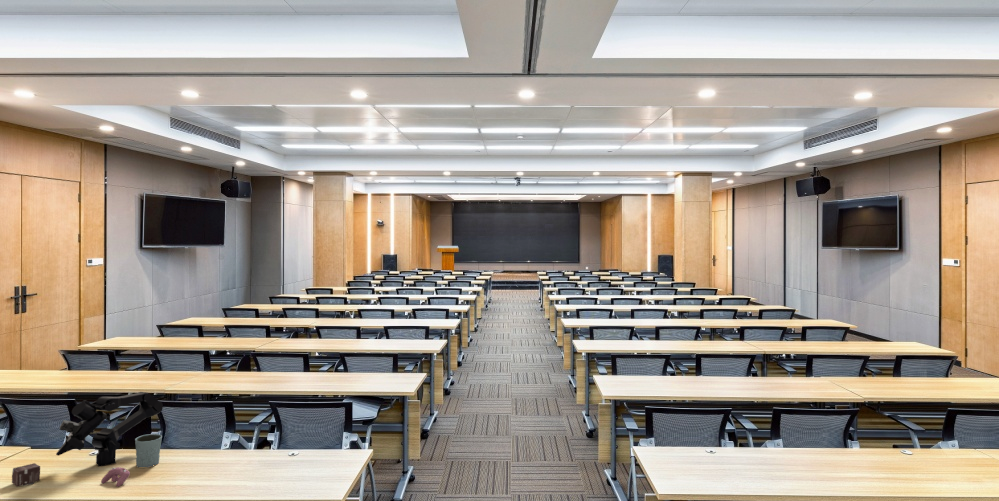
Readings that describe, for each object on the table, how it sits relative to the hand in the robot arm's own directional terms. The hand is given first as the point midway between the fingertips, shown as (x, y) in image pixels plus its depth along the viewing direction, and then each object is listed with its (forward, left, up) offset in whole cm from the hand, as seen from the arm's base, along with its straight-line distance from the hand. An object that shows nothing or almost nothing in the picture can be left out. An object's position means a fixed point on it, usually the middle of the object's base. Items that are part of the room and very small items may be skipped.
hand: (57, 454), depth 232 cm
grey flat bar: (+9, 0, -8) cm, 12 cm away
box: (+6, +2, -5) cm, 8 cm away
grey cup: (-32, +9, -8) cm, 34 cm away
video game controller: (-18, +24, -9) cm, 32 cm away
